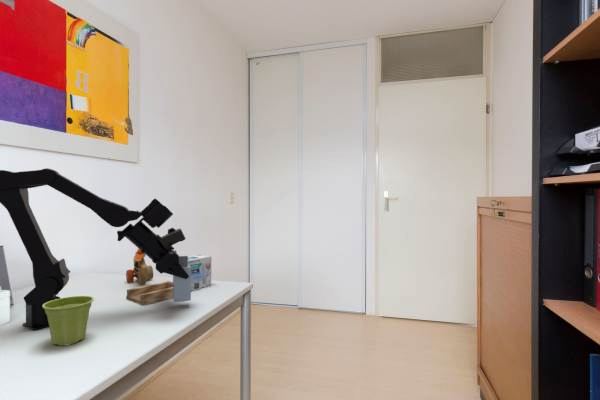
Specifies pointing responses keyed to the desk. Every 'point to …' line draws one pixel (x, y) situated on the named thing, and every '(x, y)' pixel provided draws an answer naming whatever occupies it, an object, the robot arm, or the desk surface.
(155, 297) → the cradle
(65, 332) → the plant pot
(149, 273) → the toy helicopter
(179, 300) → the box with grey fin
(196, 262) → the light bulb box
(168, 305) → the desk surface
